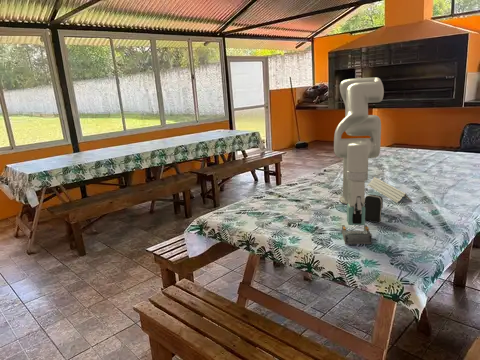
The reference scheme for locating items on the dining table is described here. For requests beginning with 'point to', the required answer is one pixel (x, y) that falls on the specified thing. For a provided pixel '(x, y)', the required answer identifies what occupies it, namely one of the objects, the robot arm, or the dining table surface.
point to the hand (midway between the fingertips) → (355, 220)
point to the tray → (357, 236)
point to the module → (350, 215)
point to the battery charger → (373, 208)
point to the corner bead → (383, 188)
